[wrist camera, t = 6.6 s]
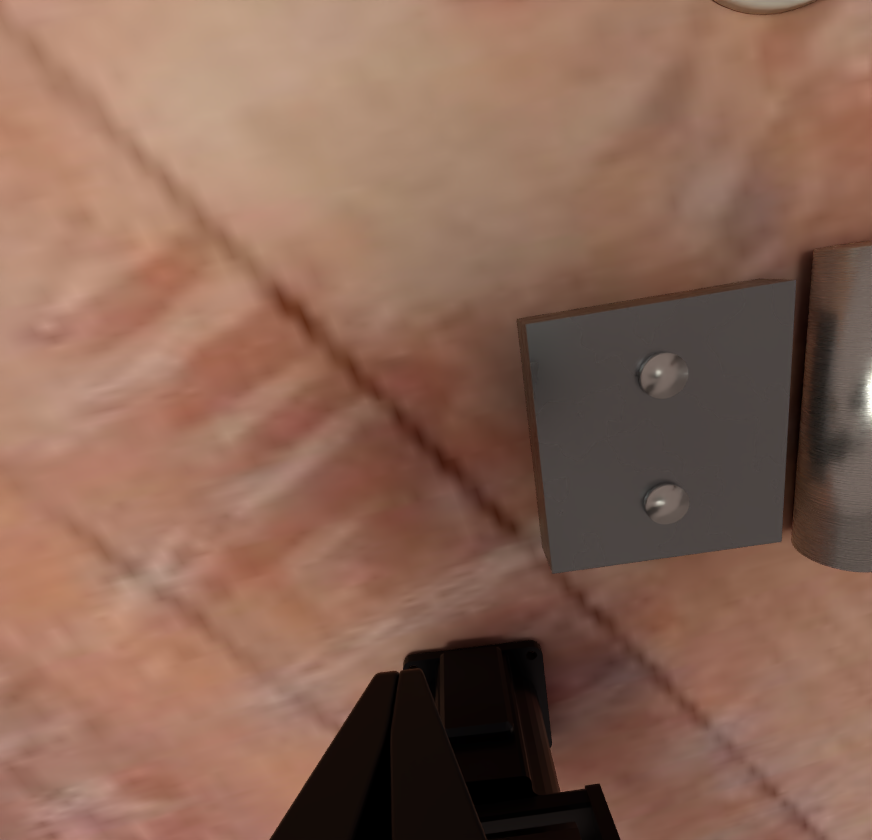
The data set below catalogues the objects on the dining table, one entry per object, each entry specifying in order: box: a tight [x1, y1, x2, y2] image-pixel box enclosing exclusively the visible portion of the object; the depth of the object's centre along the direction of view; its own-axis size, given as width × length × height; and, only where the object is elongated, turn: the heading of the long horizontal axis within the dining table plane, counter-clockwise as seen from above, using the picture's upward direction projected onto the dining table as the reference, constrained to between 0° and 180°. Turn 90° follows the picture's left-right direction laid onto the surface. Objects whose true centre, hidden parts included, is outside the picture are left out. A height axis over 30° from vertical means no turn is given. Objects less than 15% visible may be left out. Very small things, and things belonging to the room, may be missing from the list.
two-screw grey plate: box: [517, 279, 796, 574], centre depth 19 cm, size 10×9×3 cm
